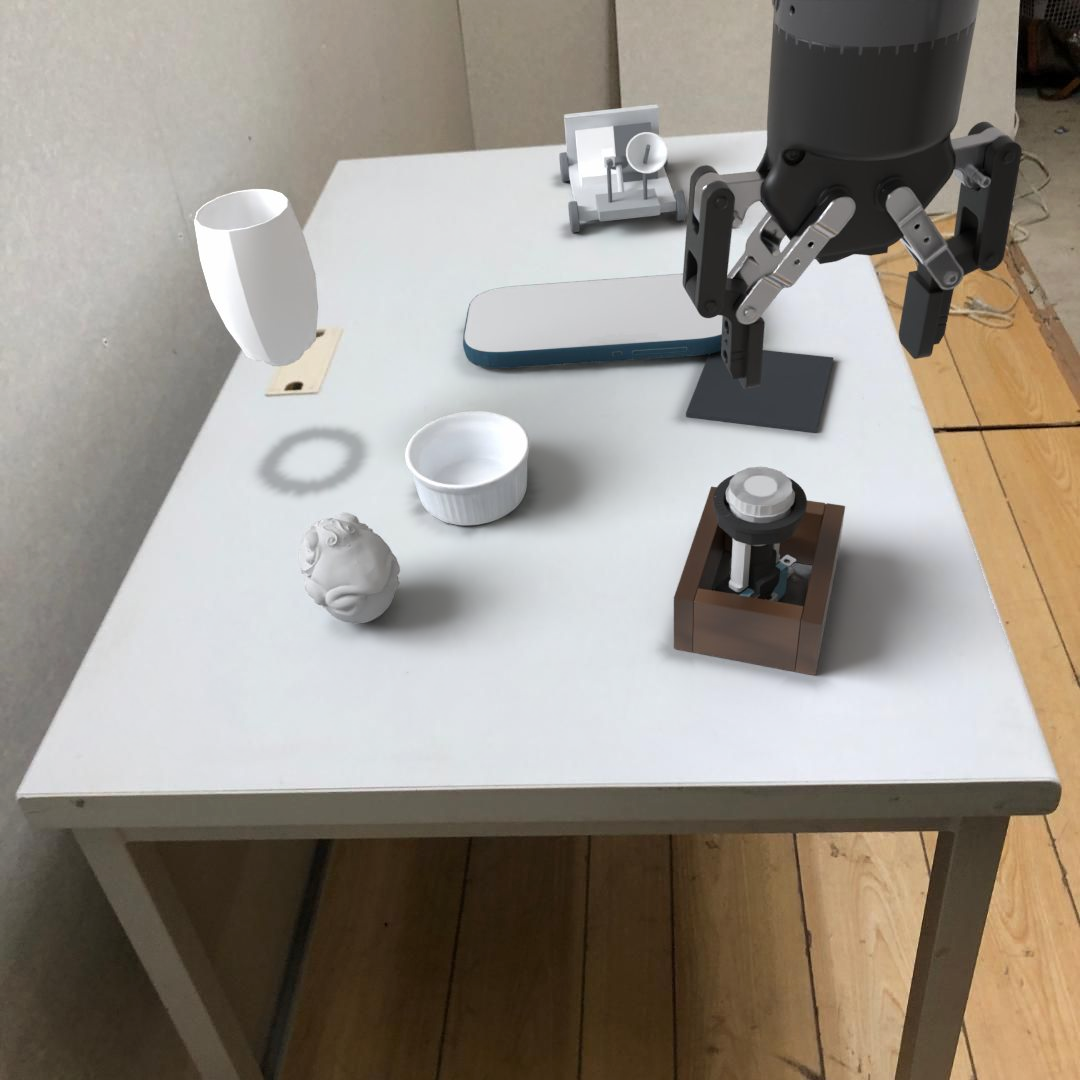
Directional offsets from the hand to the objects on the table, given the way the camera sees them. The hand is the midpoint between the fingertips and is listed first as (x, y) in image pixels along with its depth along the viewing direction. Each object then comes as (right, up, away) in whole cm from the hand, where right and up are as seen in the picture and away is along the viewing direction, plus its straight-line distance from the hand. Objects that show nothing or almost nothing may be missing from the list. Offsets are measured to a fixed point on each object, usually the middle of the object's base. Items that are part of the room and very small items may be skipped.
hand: (830, 364), depth 51 cm
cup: (-32, -2, +32) cm, 45 cm away
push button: (0, -13, +17) cm, 21 cm away
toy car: (-5, +27, +60) cm, 66 cm away
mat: (+4, +4, +34) cm, 34 cm away
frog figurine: (-26, -13, +19) cm, 35 cm away
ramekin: (-19, -5, +27) cm, 33 cm away
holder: (0, -13, +17) cm, 21 cm away
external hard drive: (-9, +10, +42) cm, 44 cm away
